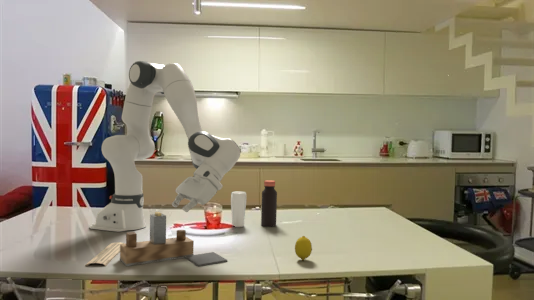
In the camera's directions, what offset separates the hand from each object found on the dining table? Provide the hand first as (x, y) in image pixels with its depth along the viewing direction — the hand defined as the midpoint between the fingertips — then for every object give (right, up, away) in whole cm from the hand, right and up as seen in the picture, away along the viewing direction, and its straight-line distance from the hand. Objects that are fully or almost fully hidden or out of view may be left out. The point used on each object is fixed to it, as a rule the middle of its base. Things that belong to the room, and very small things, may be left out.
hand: (178, 208), depth 141 cm
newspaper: (-24, -16, -1) cm, 29 cm away
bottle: (+30, -15, +49) cm, 59 cm away
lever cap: (-6, -11, -3) cm, 13 cm away
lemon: (+41, -17, -2) cm, 45 cm away
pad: (+10, -16, -4) cm, 19 cm away
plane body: (-6, -16, -3) cm, 17 cm away
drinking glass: (+17, -14, +45) cm, 50 cm away
